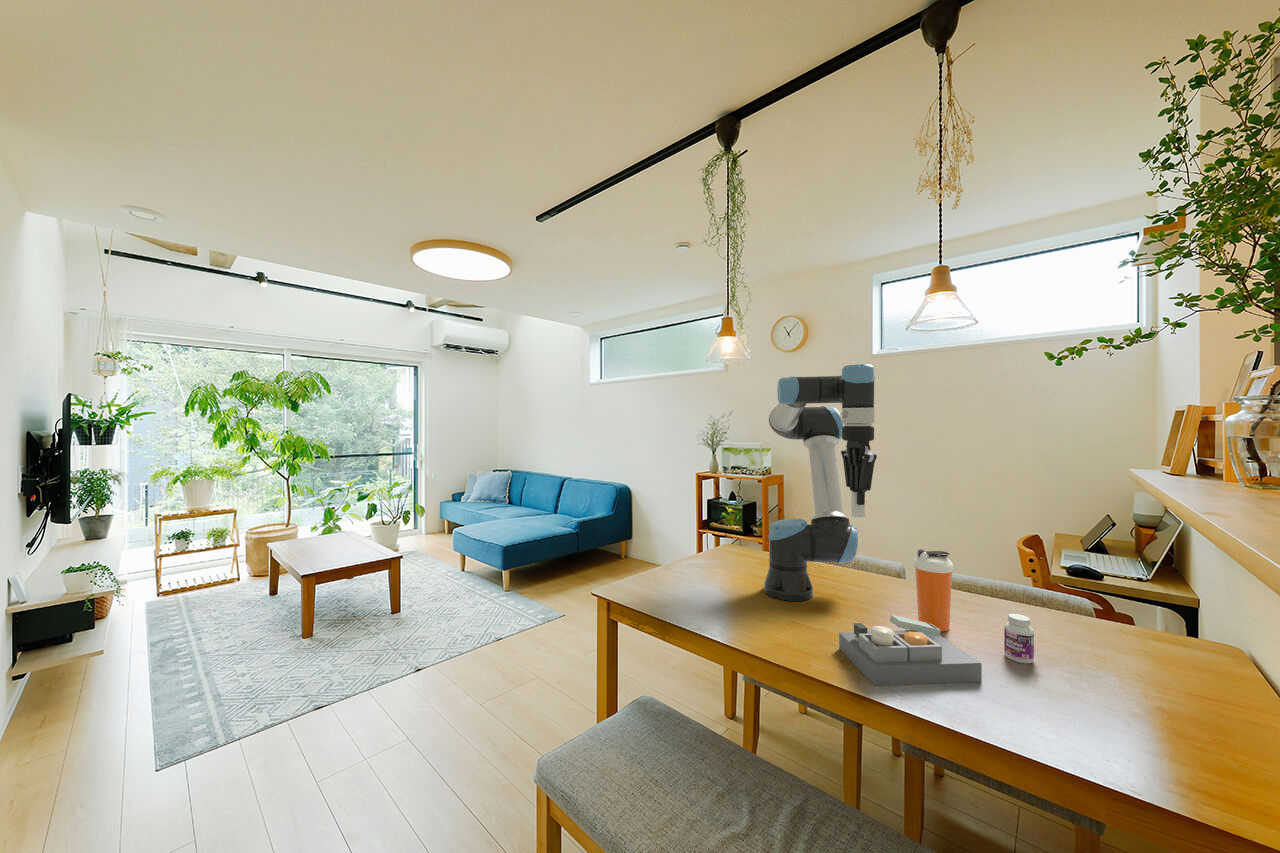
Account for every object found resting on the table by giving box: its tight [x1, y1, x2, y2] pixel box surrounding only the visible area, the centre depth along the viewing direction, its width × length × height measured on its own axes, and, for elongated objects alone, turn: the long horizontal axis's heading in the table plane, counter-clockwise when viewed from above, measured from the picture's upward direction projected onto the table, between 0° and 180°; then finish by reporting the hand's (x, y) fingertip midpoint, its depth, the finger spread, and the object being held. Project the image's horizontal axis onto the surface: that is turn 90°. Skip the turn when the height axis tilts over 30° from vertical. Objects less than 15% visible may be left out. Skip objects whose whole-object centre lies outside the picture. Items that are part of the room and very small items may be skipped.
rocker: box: [889, 614, 942, 636], centre depth 110 cm, size 4×10×2 cm, turn 92°
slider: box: [853, 622, 869, 637], centre depth 110 cm, size 3×2×2 cm, turn 2°
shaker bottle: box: [913, 549, 954, 632], centre depth 126 cm, size 9×9×20 cm
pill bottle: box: [1003, 613, 1035, 664], centre depth 109 cm, size 5×5×10 cm
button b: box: [904, 632, 927, 645], centre depth 103 cm, size 4×4×3 cm
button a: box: [870, 625, 894, 646], centre depth 103 cm, size 4×4×3 cm
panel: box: [838, 629, 983, 686], centre depth 106 cm, size 16×23×7 cm
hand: (858, 516), depth 121 cm, fingers closed
